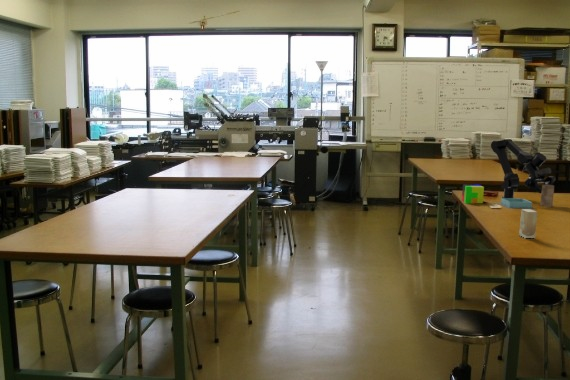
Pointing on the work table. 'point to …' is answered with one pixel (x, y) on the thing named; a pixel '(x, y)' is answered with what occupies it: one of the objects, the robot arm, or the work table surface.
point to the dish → (516, 203)
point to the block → (547, 195)
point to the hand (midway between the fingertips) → (547, 192)
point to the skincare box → (528, 223)
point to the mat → (515, 208)
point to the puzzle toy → (472, 194)
